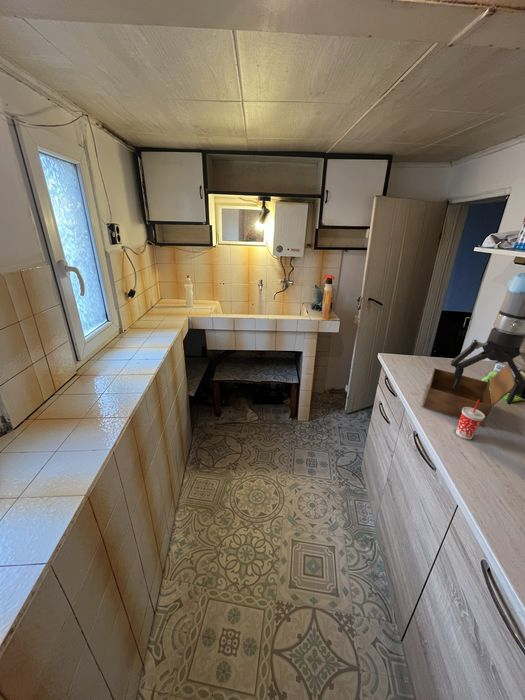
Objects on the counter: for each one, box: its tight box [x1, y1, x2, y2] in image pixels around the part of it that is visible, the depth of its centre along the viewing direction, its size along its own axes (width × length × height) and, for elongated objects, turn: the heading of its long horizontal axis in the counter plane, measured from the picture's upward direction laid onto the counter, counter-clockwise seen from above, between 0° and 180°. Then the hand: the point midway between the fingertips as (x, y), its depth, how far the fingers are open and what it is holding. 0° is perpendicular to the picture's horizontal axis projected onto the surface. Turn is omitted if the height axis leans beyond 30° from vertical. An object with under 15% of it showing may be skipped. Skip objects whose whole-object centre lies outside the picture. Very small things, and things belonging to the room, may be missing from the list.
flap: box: [488, 363, 516, 406], centre depth 99 cm, size 9×20×1 cm
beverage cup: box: [455, 399, 485, 440], centre depth 91 cm, size 6×6×14 cm
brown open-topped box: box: [422, 367, 493, 427], centre depth 108 cm, size 19×20×8 cm
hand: (480, 394), depth 87 cm, fingers open, 13 cm apart
